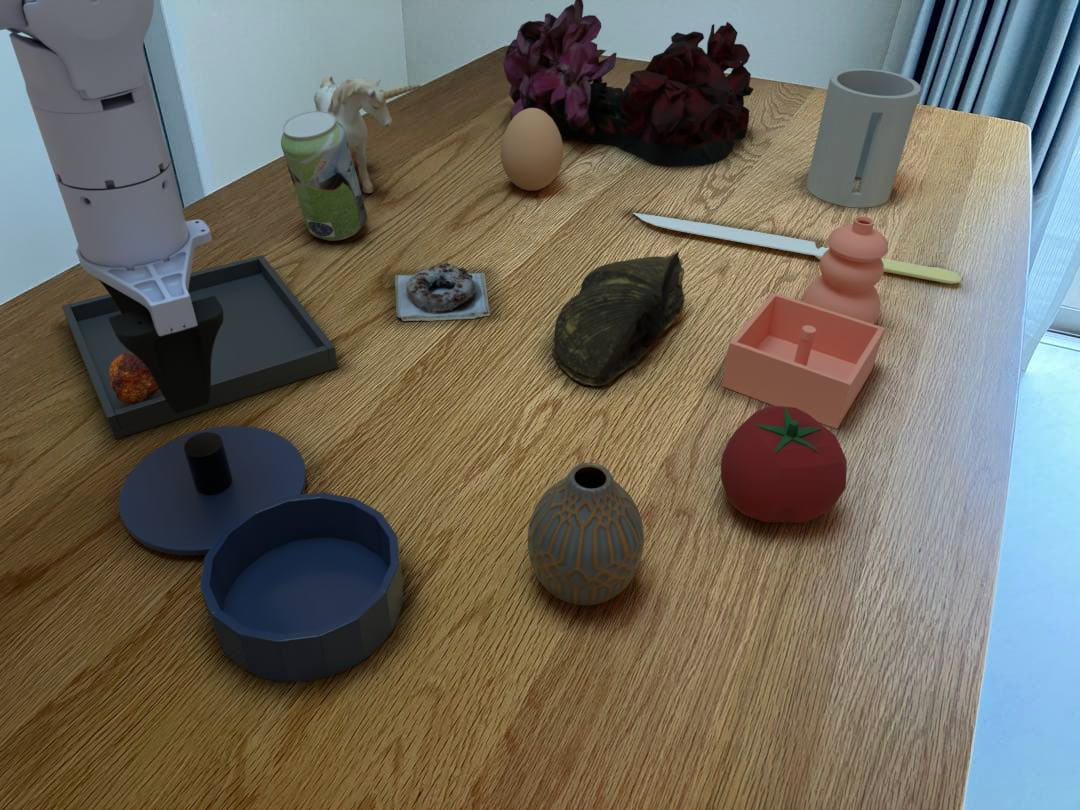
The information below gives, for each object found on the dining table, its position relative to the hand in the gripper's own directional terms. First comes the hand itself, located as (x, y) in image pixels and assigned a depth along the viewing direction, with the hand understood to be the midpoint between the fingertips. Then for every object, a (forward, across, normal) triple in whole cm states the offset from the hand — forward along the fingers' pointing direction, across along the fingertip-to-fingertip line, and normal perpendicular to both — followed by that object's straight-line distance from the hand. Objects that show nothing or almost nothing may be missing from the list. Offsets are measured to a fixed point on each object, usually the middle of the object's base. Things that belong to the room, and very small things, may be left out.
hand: (173, 372), depth 56 cm
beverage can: (+9, +29, -21) cm, 37 cm away
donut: (+9, +13, -25) cm, 30 cm away
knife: (+9, +3, -59) cm, 60 cm away
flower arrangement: (+9, +36, -62) cm, 73 cm away
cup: (+9, +10, -75) cm, 77 cm away
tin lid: (+9, -2, 0) cm, 9 cm away
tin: (+9, -14, -2) cm, 17 cm away
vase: (+9, -21, -17) cm, 29 cm away
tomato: (+9, -22, -32) cm, 40 cm away
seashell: (+9, 0, -35) cm, 37 cm away
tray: (+9, +16, -4) cm, 19 cm away
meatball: (+9, +10, +1) cm, 14 cm away
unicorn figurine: (+9, +38, -30) cm, 50 cm away
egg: (+9, +28, -44) cm, 53 cm away
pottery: (+9, -11, -48) cm, 50 cm away
